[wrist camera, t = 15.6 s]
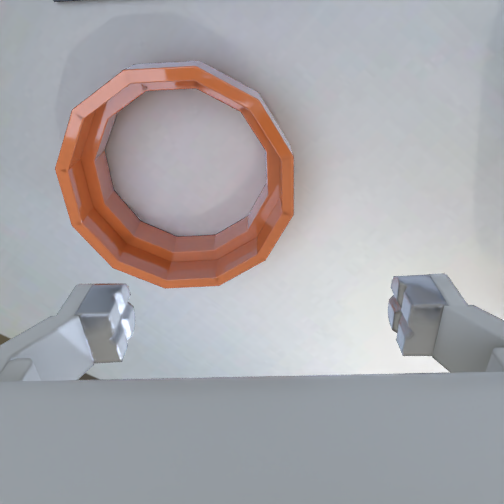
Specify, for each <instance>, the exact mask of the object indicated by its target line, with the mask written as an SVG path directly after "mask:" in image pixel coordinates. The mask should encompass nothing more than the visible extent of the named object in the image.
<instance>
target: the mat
mask: <svg viewBox="0 0 504 504" xmlns="http://www.w3.org/2000/svg"><path fill="white" fill-rule="evenodd" d="M53 1H54V2H60V1H78V0H53Z"/></svg>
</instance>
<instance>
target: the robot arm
mask: <svg viewBox="0 0 504 504" xmlns="http://www.w3.org/2000/svg"><path fill="white" fill-rule="evenodd" d="M391 289H392V291H393V294H394V295H393V296H392V297H391V298H390V299H389V305H388V318H389V322H390V325H391V328H392V330H393V331H395V332H396V333H397V339H396V341H397V343H398V345H399V348H400V350H401V353H402V355H403V356H432V357H433V358H434V359H435V360H436V361H437V362H439V363H440V364H441V365H442V366H443V367H445V368H446V369H447V370H448V371H449V372H451V373H406V374H357V375H309V376H260V377H211V378H162V379H112V380H78V379H79V378H80V377H81V376H82V375H83V374H84V373H86V372H87V371H88V370H89V369H90V368H91V367H92V366H93V365H94V363H110V362H122V361H123V358H124V356H125V353H126V351H127V348H128V343H127V339H129V338H130V337H131V336H132V335H133V332H134V329H135V311H134V306H132V305H131V304H130V303H129V302H128V300H129V298H130V296H131V294H130V290H129V286H128V285H127V284H79V285H76V286H75V287H74V289H73V291H72V292H71V294H70V295H69V297H68V298H67V300H66V301H65V303H64V304H63V306H62V307H61V309H60V310H59V312H58V313H57V315H56V316H50V317H49V318H47V319H45V320H43V321H42V322H40V323H38V324H36V325H35V326H33V327H31V328H29V329H28V330H26V331H24V332H23V333H21V334H19V335H17V336H16V337H14V338H12V339H10V340H9V341H7V342H5V343H3V344H2V345H0V504H504V320H502V319H500V318H498V317H496V316H494V315H492V314H490V313H488V312H486V311H484V310H482V309H480V308H478V307H476V306H474V305H468V304H467V303H466V301H465V300H464V298H463V297H462V296H461V294H460V293H459V291H458V290H457V288H456V287H455V286H454V284H453V283H452V281H451V280H450V278H449V277H448V276H447V275H446V274H427V275H412V276H394V277H393V279H392V284H391Z"/></svg>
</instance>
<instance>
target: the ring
mask: <svg viewBox="0 0 504 504" xmlns="http://www.w3.org/2000/svg"><path fill="white" fill-rule="evenodd" d="M194 88H196V89H198V90H200V91H202V92H204V93H206V94H208V95H210V96H211V97H213V98H215V99H217V100H219V101H221V102H223V103H225V104H227V105H229V106H231V107H233V108H234V109H236V110H238V111H240V112H241V113H242V115H243V116H244V118H245V119H246V121H247V122H248V124H249V125H250V127H251V129H252V130H253V132H254V133H255V135H256V136H257V138H258V140H259V141H260V143H261V144H262V146H263V147H264V149H265V154H266V184H265V186H264V188H263V190H262V192H261V193H260V195H259V197H258V199H257V201H256V202H255V204H254V206H253V208H252V209H251V211H250V213H249V215H248V216H247V217H245V218H244V219H242V220H240V221H238V222H237V223H235V224H233V225H232V226H230V227H228V228H227V229H225V230H223V231H222V232H220V233H218V234H216V235H204V236H183V237H177V236H174V235H172V234H170V233H167V232H165V231H163V230H160V229H158V228H156V227H153V226H151V225H149V224H146V223H144V222H142V221H140V220H139V219H138V217H137V216H136V215H135V214H134V213H133V212H132V211H131V209H130V208H129V207H128V206H127V205H126V204H125V202H124V201H123V200H122V199H121V198H120V197H119V196H118V194H117V193H116V192H115V191H114V189H113V185H112V180H111V176H110V171H109V167H108V163H107V158H106V154H105V148H106V145H107V142H108V139H109V136H110V133H111V130H112V127H113V124H114V121H115V118H116V116H117V113H118V112H119V111H120V110H121V109H123V108H124V107H125V106H127V105H128V104H129V103H131V102H132V101H133V100H135V99H136V98H138V97H139V96H140V95H142V94H143V93H144V92H146V91H157V90H176V89H194ZM55 170H56V174H57V177H58V180H59V184H60V187H61V190H62V194H63V197H64V201H65V204H66V207H67V211H68V214H69V218H70V221H71V224H72V226H73V227H74V228H75V229H76V230H77V231H78V233H79V234H80V235H81V236H82V237H83V238H84V239H85V240H86V241H87V242H88V243H89V244H90V245H91V246H92V247H93V248H94V249H95V250H96V251H97V252H98V253H99V254H100V255H101V256H102V257H103V258H104V259H105V260H106V261H107V262H108V263H109V264H110V266H111V267H112V268H114V269H117V270H119V271H122V272H125V273H127V274H130V275H132V276H135V277H137V278H140V279H142V280H145V281H147V282H150V283H153V284H155V285H158V286H160V287H163V288H182V287H203V286H219V285H221V284H223V283H225V282H227V281H228V280H230V279H232V278H234V277H236V276H238V275H239V274H241V273H243V272H245V271H247V270H249V269H250V268H252V267H254V266H256V265H258V264H259V263H261V262H263V261H265V260H266V259H267V257H268V255H269V254H270V252H271V251H272V249H273V247H274V246H275V244H276V242H277V241H278V239H279V238H280V236H281V234H282V233H283V231H284V230H285V228H286V226H287V225H288V223H289V221H290V220H291V218H292V217H293V215H294V156H293V153H292V150H291V146H290V144H289V142H288V140H287V139H286V137H285V136H284V134H283V132H282V131H281V129H280V127H279V126H278V124H277V122H276V121H275V119H274V117H273V116H272V114H271V112H270V111H269V109H268V107H267V106H266V104H265V103H264V101H263V99H262V98H261V96H260V94H259V93H258V92H257V91H255V90H253V89H251V88H250V87H248V86H246V85H244V84H242V83H240V82H238V81H237V80H235V79H233V78H231V77H229V76H227V75H226V74H224V73H222V72H220V71H218V70H216V69H214V68H213V67H211V66H209V65H207V64H205V63H203V62H201V61H182V62H164V63H146V64H133V65H132V66H130V67H128V68H126V69H124V70H123V71H122V72H120V73H119V74H118V75H116V76H115V77H114V78H113V79H111V80H110V81H109V82H107V83H106V84H105V85H103V86H102V87H101V88H100V89H98V90H97V91H96V92H94V93H93V94H92V95H91V96H89V97H88V98H87V99H85V100H84V101H83V102H81V103H80V104H79V105H78V106H76V107H75V108H74V109H72V112H71V115H70V119H69V122H68V126H67V129H66V132H65V136H64V139H63V143H62V146H61V150H60V153H59V157H58V160H57V163H56V167H55Z"/></svg>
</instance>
